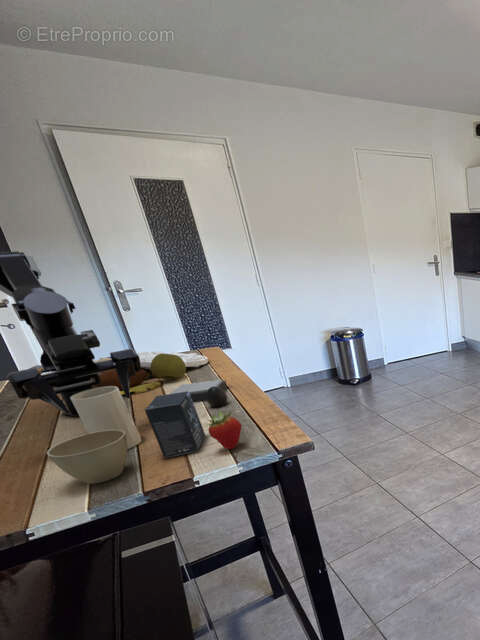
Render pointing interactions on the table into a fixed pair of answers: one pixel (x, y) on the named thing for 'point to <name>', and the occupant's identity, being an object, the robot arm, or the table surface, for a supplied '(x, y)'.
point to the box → (175, 424)
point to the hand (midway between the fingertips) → (99, 405)
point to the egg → (216, 397)
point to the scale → (200, 389)
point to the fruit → (225, 430)
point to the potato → (112, 379)
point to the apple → (168, 366)
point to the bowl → (92, 456)
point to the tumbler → (106, 412)
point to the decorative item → (142, 388)
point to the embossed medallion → (188, 359)
